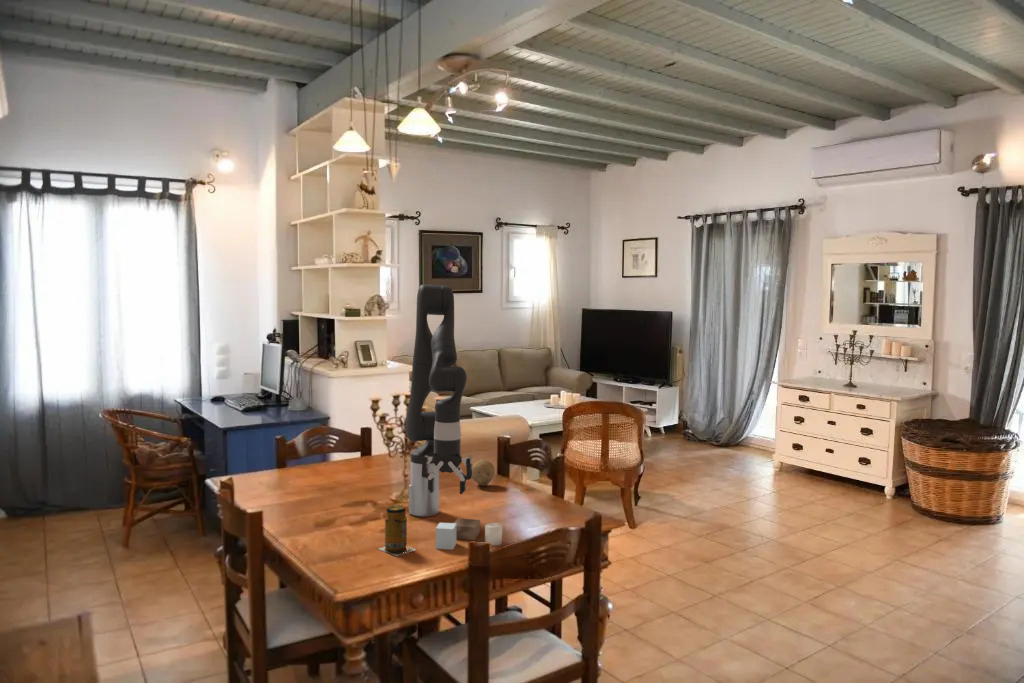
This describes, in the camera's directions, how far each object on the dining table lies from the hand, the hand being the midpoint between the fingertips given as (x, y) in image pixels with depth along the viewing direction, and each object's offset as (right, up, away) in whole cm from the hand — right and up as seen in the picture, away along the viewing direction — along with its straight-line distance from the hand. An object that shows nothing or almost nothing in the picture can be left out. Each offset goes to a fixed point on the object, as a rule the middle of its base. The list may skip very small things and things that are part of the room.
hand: (446, 492), depth 210 cm
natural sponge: (+8, -11, +64) cm, 65 cm away
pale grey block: (0, -16, +1) cm, 16 cm away
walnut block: (+5, -15, +11) cm, 19 cm away
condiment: (-14, -16, -2) cm, 21 cm away
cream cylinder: (+13, -16, +5) cm, 21 cm away
